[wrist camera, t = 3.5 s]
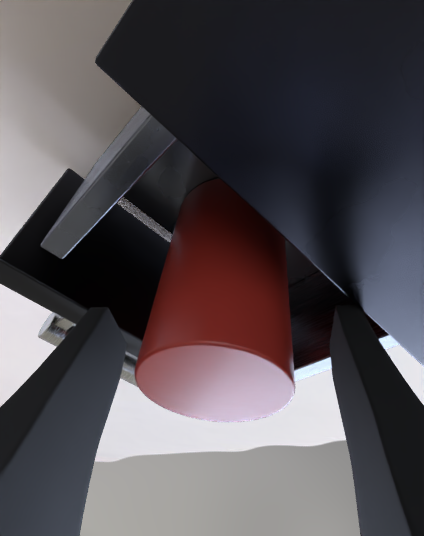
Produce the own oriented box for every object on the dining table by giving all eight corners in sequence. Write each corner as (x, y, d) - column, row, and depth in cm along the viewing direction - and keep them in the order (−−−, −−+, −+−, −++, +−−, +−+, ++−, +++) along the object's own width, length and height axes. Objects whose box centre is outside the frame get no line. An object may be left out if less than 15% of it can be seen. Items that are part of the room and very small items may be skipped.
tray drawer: (195, 344, 24) (180, 433, 20) (17, 235, 18) (-54, 327, 14) (475, 197, 14) (561, 310, 10) (278, -114, 9) (292, -140, 5)
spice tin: (305, 226, 15) (329, 399, 10) (229, 274, 17) (214, 433, 12) (232, 154, 13) (210, 319, 8) (158, 219, 15) (102, 379, 10)
